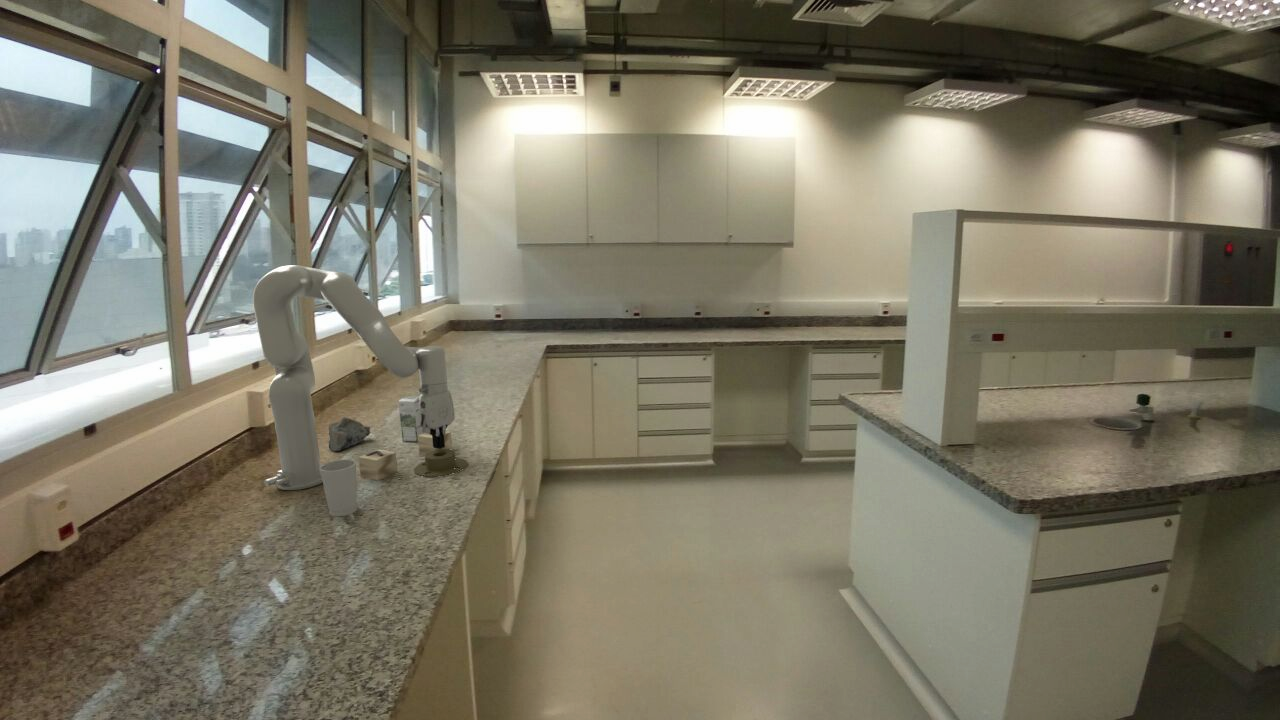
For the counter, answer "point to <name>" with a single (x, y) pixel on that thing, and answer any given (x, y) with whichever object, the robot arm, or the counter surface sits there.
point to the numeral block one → (427, 442)
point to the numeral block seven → (378, 464)
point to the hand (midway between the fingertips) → (439, 447)
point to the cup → (340, 486)
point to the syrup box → (410, 418)
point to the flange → (440, 463)
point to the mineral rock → (346, 433)
